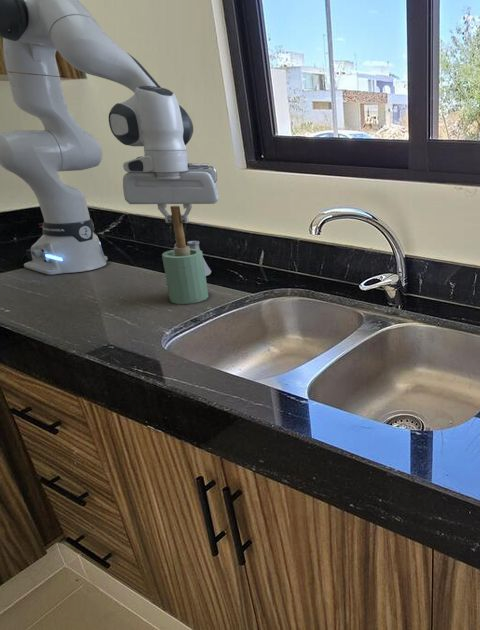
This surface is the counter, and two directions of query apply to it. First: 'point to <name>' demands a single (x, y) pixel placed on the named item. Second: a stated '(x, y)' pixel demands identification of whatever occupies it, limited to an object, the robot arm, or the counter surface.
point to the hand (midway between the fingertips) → (177, 222)
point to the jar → (185, 277)
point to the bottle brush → (179, 233)
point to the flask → (207, 271)
